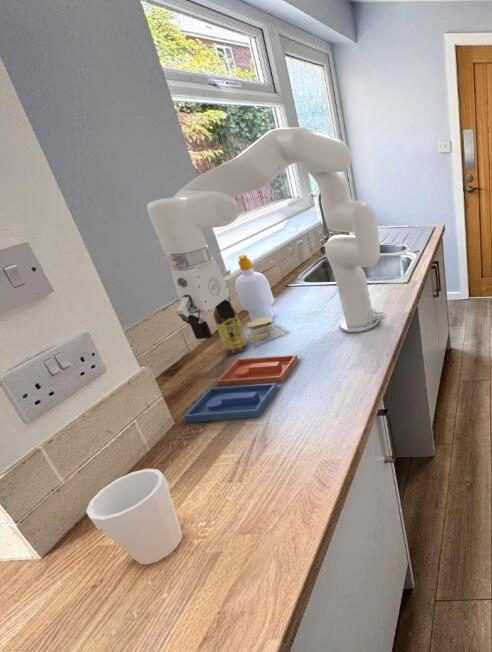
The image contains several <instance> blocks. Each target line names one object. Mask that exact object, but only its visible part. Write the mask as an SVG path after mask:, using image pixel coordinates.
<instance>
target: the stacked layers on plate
mask: <svg viewBox="0 0 492 652" xmlns="http://www.w3.org/2000/svg"><path fill="white" fill-rule="evenodd" d="M273 320H274V317H273V318H268V317H262V318H259V319H256V320H254V321H252V320H251V321H250V322H247V323H246V325H247V326H248V327H247V329H248V330H250V332H249V334H250V335H249V336H247V337H246V336H245V338H246V341H247V342H248V343H250V344H252V345H253V346H255V347H257V346H259V345H262V344H264V343H267V342H269V341H272V340H273V339H276V338H279V337H281V336H284V335H285V334H286V332H285V331H284V330H281V329H279V328H277V327H276V326H275V321H273Z"/></svg>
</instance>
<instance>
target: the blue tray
mask: <svg viewBox="0 0 492 652" xmlns="http://www.w3.org/2000/svg"><path fill="white" fill-rule="evenodd" d="M278 387H279V386H278V383H269V384H256V385H242V386H229V387H219V386H215V387H210V388H209V389H208V390H207V391H206V392H205V393H204V394H203V395H202V396H201V397H200V398H199V399H198V400H197V402H196V403H195V404H193V406H192V407H191V408H190V409H189V410H188V411H187V412H186V413H185V414H184V415H183V418H184V420H185V422H186V423H188V424H189V423H199V422H213V421H223V420H225V421H226V420H239V419H251V418H259V417H260V416H261V415H262V413H263V412H264V410H265V409H266V408H267V406H268V404H269V403H270V402H271V400H272V399H273V397H274V396H275V395H276V393H277V392H278V390H279V388H278ZM245 392H258V395H259V398H260V400H259V401H258V402H257V404H256V405H242V406H229V407H222V408H220V409H218V410H209V409H208V407H207V402H208V401H209V400H211V399H212V398H214V397H217V396H224V395H225V394H232V393H245Z"/></svg>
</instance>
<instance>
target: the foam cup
mask: <svg viewBox="0 0 492 652" xmlns="http://www.w3.org/2000/svg"><path fill="white" fill-rule="evenodd" d="M169 487H170V484H169V482H168V480H167V479H166V477H165V475H164V474H163V473H162V472H161V470H159V469H158V468H157V469H156V468H144V469H139V470H136V471H132V472H130V473H127V474H126V475H123V476H120V477H119V478H117V479H115V480H113V481H111V483H109V484H108V485H106V486H104V487H103V488H102V489H100V490H99V491H98V492H97V493H96V494H95V496H93V498H92V499H91V500H90V501H89V503H88V506H87V508H86V511H85V513H86V515H87V516H88V518H89V519H90V520H91V521H92V523H93V525H94V526H95V527H96V529H98V530H101V531H102V532H103V533H104V534H106V535H107V536H108V537H109V538H110V539H111V540H112V541H113V542H114V543H115V544H117V546H119V547H120V548H121V549H122V550H123V551H124V552H125V553H127V554H128V555H129V557H131V558H133V560H134V561H136V562H137V563H138V564H140V565H151V564H153V563H157V562H159V561H161V560H163V559H164V558H167V556H169V555H170V554H172V552H174V551H175V549H177V547H178V546H179V544H180V542H181V541H182V536H183V532H182V527H181V525H180V522H179V518H178V516H177V512H176V509H175V506H174V502H173V498H172V496H171V491H170V489H169Z"/></svg>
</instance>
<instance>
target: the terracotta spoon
mask: <svg viewBox="0 0 492 652" xmlns="http://www.w3.org/2000/svg"><path fill="white" fill-rule="evenodd" d="M281 369H282V366H281V363H280V362H266V363H252V364H251V365H247V366H243V367H240V368H238V369H237V370H236V371H235V374H236V376H237V377H239V378H242V377H246V376H249V375H254V374H268V373H279V372H280V371H281Z"/></svg>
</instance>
